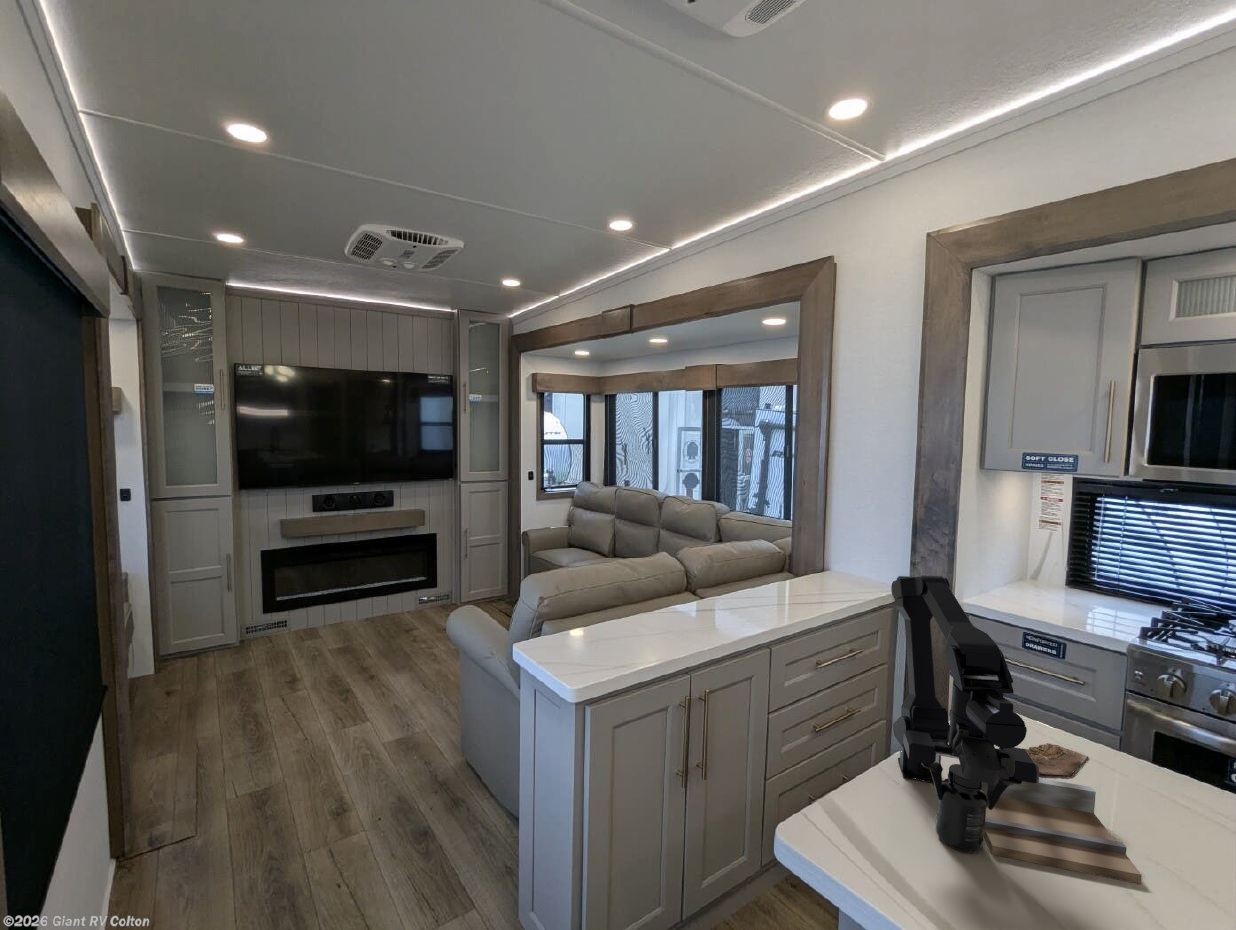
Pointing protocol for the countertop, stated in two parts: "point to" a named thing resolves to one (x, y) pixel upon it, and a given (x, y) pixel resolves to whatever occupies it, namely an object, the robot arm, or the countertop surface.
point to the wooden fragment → (1055, 759)
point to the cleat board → (1055, 830)
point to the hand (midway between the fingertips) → (964, 803)
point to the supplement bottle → (961, 812)
